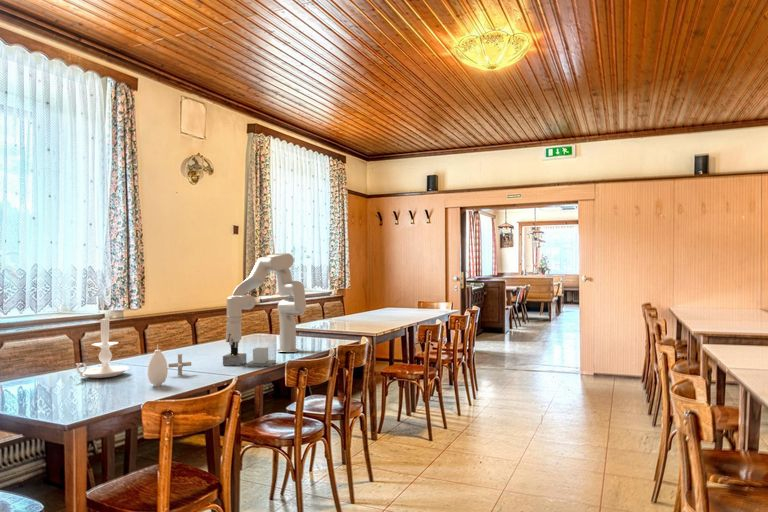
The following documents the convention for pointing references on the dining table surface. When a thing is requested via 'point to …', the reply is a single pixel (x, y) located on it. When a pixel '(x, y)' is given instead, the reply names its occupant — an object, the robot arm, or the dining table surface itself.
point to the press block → (234, 359)
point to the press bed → (260, 363)
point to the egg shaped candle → (157, 368)
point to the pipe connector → (179, 364)
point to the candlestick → (103, 357)
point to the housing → (260, 355)
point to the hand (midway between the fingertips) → (234, 355)
